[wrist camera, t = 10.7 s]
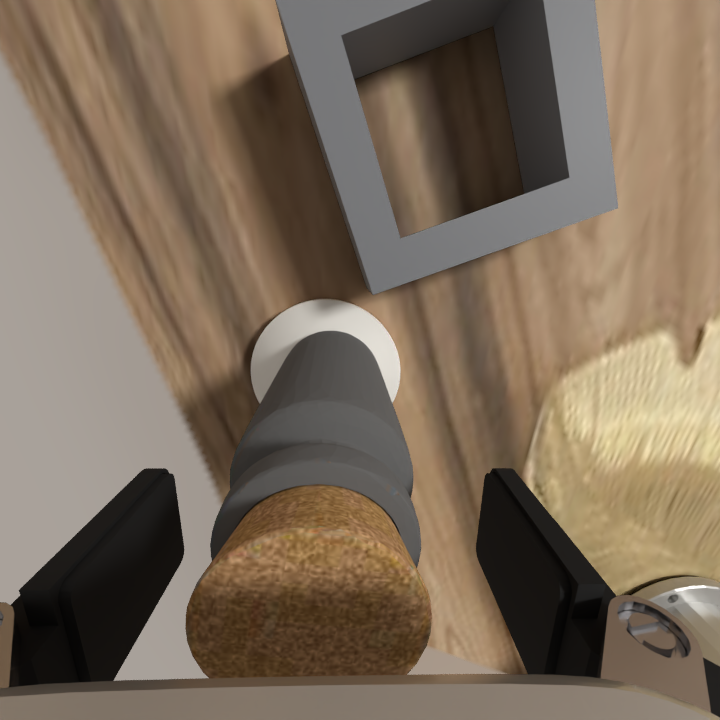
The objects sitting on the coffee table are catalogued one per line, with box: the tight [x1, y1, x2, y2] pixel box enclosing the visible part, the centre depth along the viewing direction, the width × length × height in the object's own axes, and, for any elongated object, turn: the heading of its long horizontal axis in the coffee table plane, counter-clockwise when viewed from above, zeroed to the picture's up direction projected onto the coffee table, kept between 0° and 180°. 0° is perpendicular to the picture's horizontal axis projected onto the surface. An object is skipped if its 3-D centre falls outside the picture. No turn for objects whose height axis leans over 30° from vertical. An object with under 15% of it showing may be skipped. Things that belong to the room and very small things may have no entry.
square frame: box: [275, 0, 618, 295], centre depth 16 cm, size 12×12×4 cm
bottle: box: [186, 331, 432, 678], centre depth 14 cm, size 6×6×15 cm
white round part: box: [251, 299, 400, 403], centre depth 21 cm, size 9×9×1 cm
